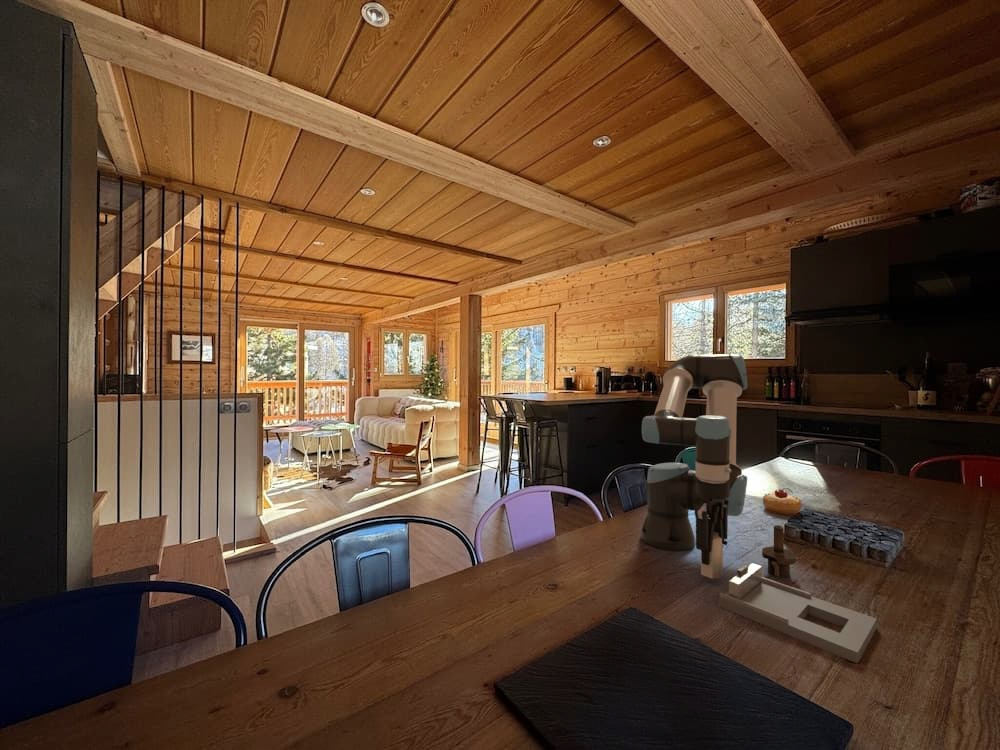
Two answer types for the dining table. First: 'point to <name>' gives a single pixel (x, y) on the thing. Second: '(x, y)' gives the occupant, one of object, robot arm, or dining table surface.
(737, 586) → the lock bar
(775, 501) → the pastry
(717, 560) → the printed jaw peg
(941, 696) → the dining table surface
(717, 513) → the robot arm
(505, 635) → the dining table surface
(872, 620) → the housing plate
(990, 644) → the dining table surface
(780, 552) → the industrial component
